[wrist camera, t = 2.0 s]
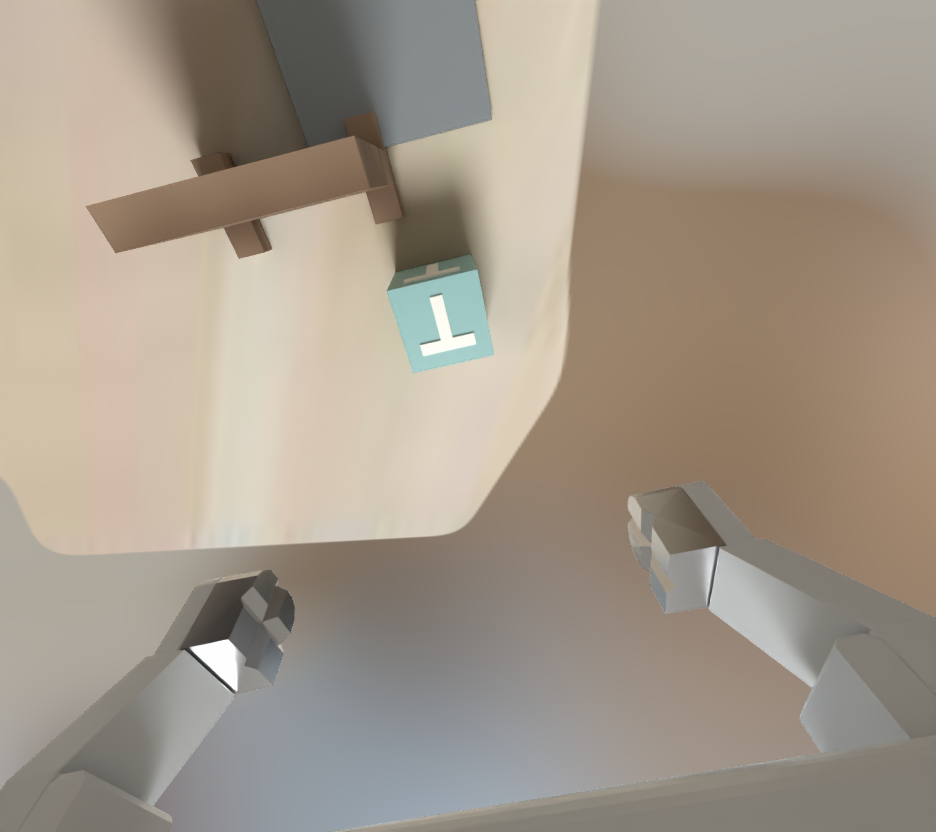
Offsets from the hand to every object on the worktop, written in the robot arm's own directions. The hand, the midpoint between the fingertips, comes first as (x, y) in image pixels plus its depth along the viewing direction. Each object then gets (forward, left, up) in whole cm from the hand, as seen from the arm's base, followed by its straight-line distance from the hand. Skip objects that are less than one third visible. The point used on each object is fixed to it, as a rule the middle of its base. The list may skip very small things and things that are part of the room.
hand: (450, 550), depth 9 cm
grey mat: (-14, 0, -21) cm, 25 cm away
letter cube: (0, 0, -21) cm, 21 cm away
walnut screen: (-8, -6, -21) cm, 23 cm away
